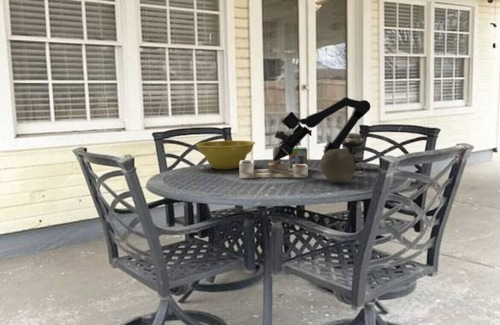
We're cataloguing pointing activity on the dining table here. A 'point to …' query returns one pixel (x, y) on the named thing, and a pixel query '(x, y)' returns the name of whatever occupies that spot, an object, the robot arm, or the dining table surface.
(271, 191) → the dining table surface
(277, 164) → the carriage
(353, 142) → the apothecary jar
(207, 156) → the planter bowl
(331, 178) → the cantaloupe
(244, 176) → the rail track
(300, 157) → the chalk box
